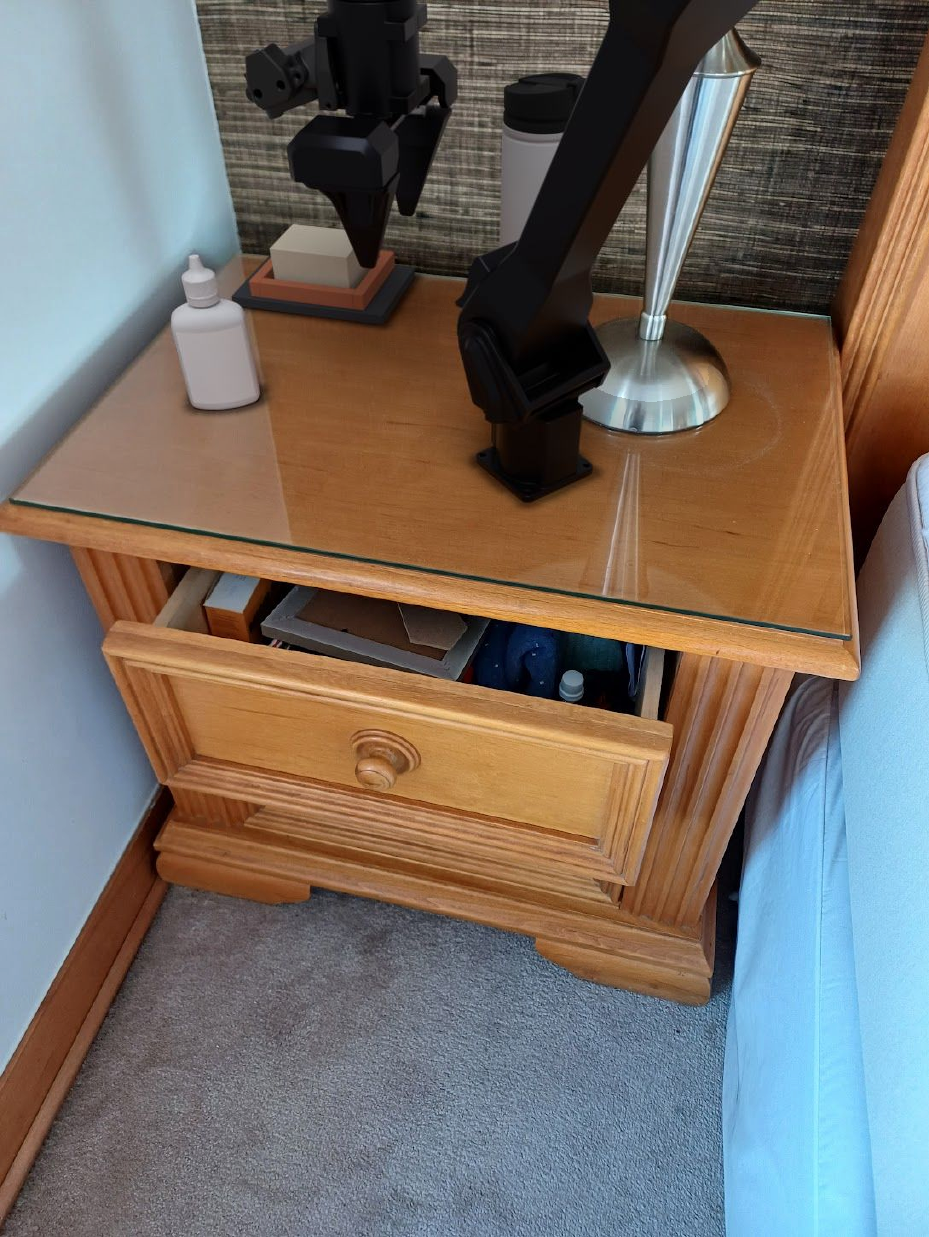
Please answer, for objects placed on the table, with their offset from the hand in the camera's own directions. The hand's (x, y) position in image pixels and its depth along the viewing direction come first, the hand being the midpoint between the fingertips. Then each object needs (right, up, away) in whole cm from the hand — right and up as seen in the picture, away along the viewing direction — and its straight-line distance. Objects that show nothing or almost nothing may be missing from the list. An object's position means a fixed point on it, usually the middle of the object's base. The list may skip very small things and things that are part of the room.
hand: (388, 240), depth 68 cm
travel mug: (+12, -1, +16) cm, 20 cm away
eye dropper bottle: (-14, -10, +7) cm, 19 cm away
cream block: (-8, +4, +19) cm, 21 cm away
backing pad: (-8, +3, +20) cm, 22 cm away
